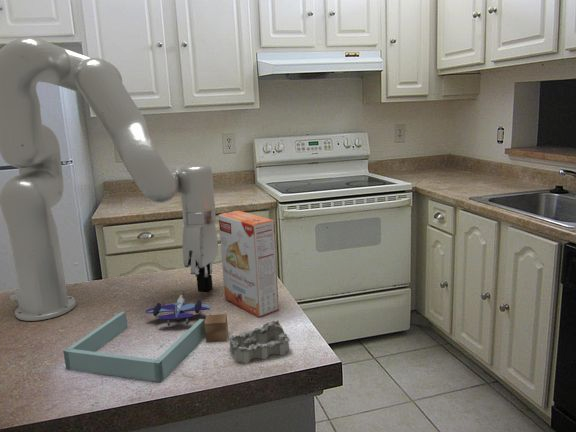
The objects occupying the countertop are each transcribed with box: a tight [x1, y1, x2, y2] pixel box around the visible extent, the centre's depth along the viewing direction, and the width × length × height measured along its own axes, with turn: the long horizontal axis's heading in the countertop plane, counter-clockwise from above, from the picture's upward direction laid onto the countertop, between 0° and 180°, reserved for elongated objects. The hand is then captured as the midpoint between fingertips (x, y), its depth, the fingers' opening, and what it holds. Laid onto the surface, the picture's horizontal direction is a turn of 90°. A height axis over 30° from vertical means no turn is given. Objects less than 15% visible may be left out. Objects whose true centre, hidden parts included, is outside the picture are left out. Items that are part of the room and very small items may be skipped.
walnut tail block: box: [204, 313, 229, 344], centre depth 95 cm, size 4×4×4 cm
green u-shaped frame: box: [63, 310, 206, 383], centre depth 90 cm, size 19×17×4 cm
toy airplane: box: [145, 291, 211, 326], centre depth 105 cm, size 13×14×4 cm
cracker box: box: [218, 210, 280, 318], centre depth 108 cm, size 14×6×21 cm, turn 39°
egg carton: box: [227, 320, 291, 364], centre depth 89 cm, size 11×8×4 cm
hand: (205, 290), depth 117 cm, fingers closed
